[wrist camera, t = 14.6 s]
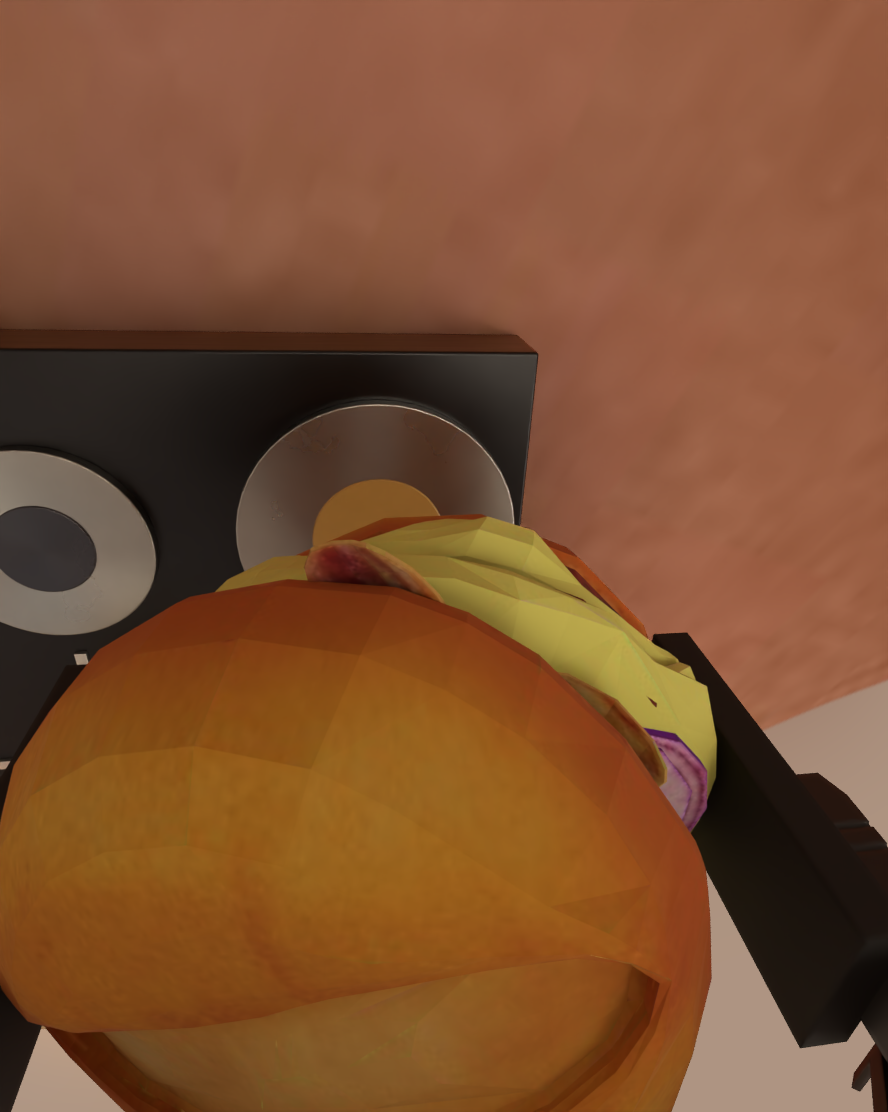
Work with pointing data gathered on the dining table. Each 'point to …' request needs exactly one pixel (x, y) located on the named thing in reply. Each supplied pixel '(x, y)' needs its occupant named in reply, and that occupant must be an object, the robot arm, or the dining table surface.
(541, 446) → the dining table surface
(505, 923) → the cheeseburger
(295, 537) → the burners
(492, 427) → the stove
